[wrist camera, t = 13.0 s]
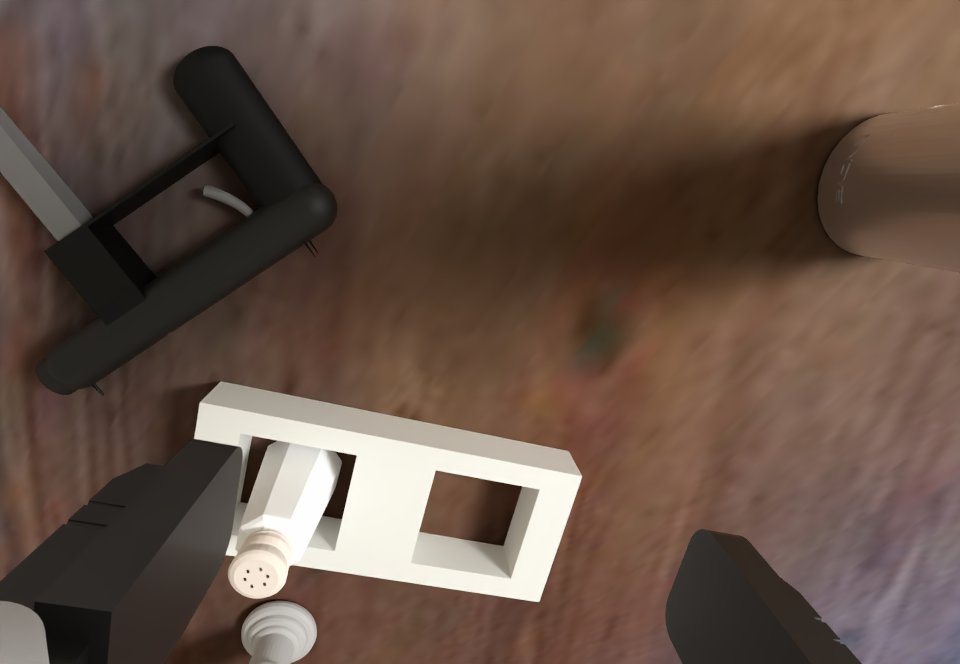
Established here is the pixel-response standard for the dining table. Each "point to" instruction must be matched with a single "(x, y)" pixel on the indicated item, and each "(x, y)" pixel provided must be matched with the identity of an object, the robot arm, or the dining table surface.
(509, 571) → the rail
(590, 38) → the dining table surface
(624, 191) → the dining table surface
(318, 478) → the salt shaker
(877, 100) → the dining table surface
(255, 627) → the chess piece
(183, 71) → the door handle
